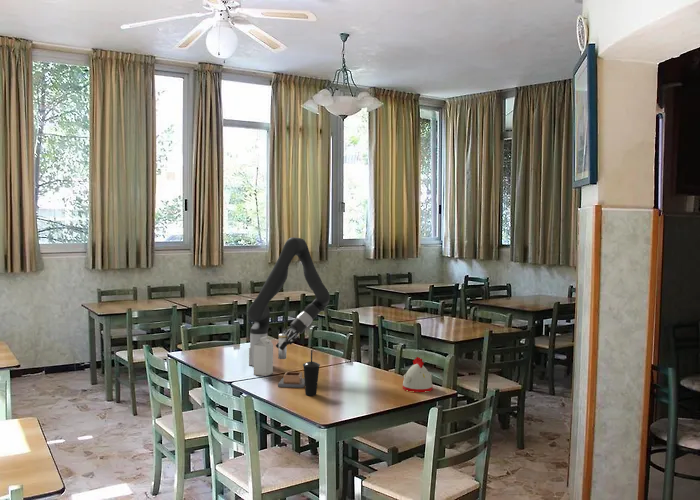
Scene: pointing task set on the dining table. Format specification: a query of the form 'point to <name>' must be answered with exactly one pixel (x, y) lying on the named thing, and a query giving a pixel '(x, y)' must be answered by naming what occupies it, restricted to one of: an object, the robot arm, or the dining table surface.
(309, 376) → the drinking cup
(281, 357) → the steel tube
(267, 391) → the dining table surface
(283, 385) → the collar plate
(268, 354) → the milk carton
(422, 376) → the kitchen timer
